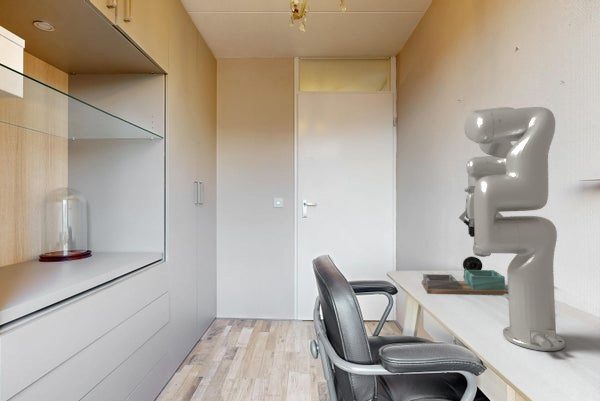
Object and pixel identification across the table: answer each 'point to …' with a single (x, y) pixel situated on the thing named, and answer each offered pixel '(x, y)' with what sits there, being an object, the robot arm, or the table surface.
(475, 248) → the metal bottle
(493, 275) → the sorting tray
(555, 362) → the table surface
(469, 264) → the webcam
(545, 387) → the table surface
